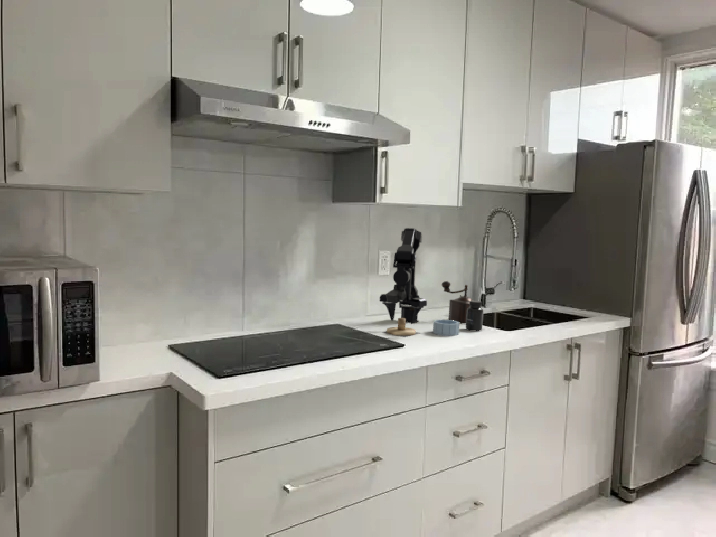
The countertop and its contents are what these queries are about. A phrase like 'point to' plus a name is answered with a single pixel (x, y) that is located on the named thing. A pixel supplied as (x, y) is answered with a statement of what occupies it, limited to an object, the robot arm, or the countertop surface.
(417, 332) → the mat
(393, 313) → the robot arm
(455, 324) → the bowl
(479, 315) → the supplement bottle
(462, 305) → the manual coffee grinder
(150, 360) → the countertop surface
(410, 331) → the lid
